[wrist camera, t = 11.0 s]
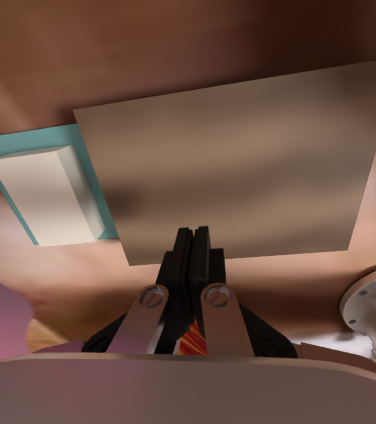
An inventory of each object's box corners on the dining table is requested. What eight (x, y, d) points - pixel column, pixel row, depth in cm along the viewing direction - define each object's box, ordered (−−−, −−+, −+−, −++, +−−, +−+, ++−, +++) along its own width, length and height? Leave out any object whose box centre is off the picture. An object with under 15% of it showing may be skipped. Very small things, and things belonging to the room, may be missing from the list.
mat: (133, 234, 24) (132, 236, 24) (36, 242, 25) (34, 245, 25) (96, 120, 18) (94, 120, 18) (-27, 139, 20) (-31, 140, 19)
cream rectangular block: (40, 246, 22) (55, 232, 24) (95, 242, 21) (105, 228, 23) (-12, 160, 17) (12, 153, 20) (55, 151, 17) (72, 144, 19)
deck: (324, 225, 22) (347, 250, 19) (139, 241, 24) (129, 265, 21) (356, 64, 15) (402, 55, 12) (97, 106, 18) (72, 109, 14)
